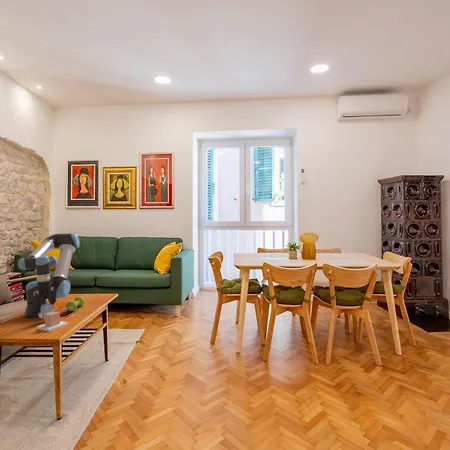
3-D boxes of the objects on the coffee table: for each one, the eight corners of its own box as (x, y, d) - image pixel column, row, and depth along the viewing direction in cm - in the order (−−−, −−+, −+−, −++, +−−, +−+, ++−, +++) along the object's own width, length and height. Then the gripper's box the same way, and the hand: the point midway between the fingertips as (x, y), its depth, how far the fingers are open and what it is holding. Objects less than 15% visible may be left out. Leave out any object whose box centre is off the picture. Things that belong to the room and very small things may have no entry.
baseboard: (37, 328, 190) (36, 326, 189) (55, 322, 200) (55, 320, 200) (49, 331, 184) (49, 329, 184) (68, 325, 195) (68, 322, 194)
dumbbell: (75, 305, 238) (74, 296, 238) (85, 305, 238) (85, 295, 238) (64, 312, 222) (64, 302, 222) (76, 312, 222) (75, 301, 222)
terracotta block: (44, 325, 190) (44, 314, 190) (54, 322, 196) (53, 311, 195) (50, 326, 188) (50, 315, 187) (60, 323, 193) (59, 312, 193)
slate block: (38, 317, 201) (38, 306, 201) (47, 314, 206) (47, 303, 206) (44, 318, 198) (43, 307, 198) (53, 315, 203) (52, 304, 203)
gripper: (32, 284, 191) (34, 321, 192) (61, 277, 207) (63, 312, 209) (25, 283, 194) (27, 320, 196) (54, 276, 211) (56, 310, 212)
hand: (46, 315), depth 202 cm, fingers closed on slate block, 6 cm apart
